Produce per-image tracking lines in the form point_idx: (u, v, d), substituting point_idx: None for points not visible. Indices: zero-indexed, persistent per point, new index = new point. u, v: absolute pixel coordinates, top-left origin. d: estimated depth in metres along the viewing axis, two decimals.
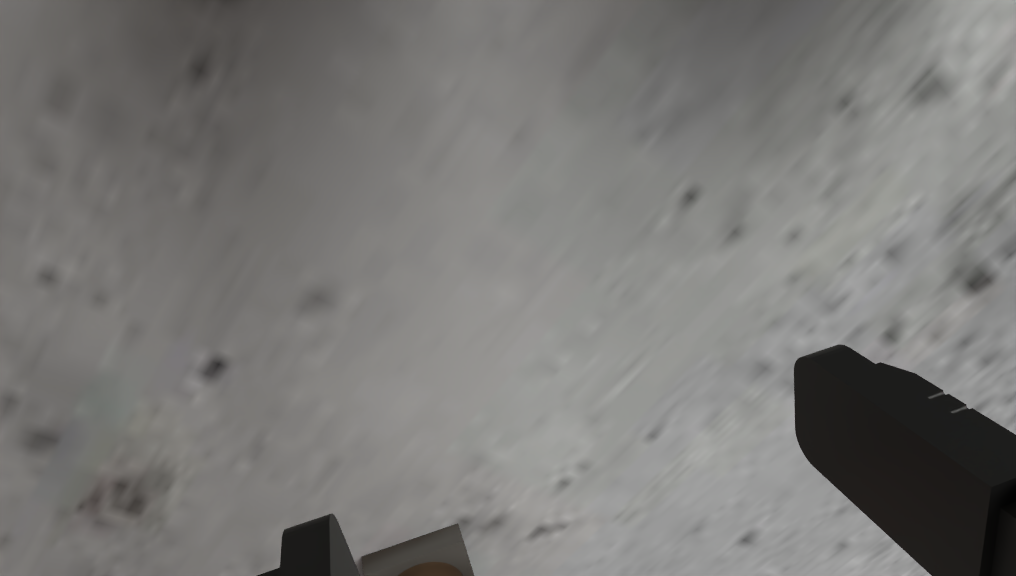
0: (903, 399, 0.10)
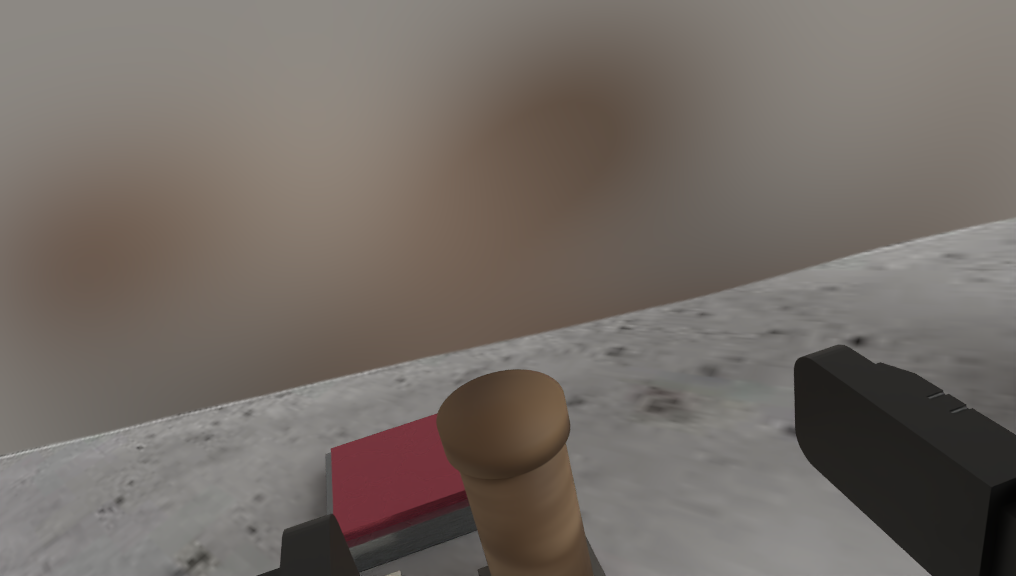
0: (903, 399, 0.10)
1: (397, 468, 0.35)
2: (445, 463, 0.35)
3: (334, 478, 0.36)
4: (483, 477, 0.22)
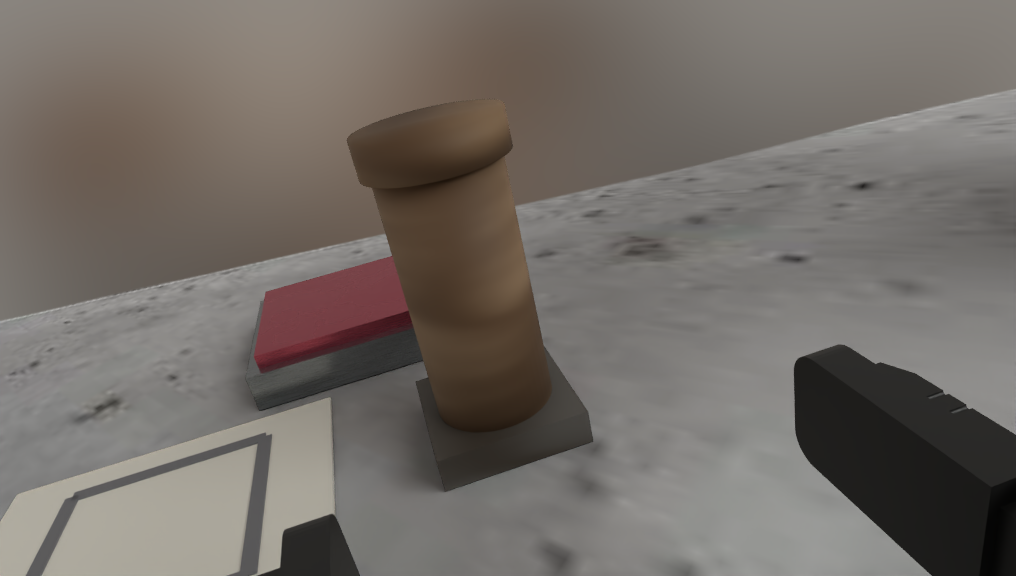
0: (903, 399, 0.10)
1: (335, 300, 0.31)
2: (390, 292, 0.30)
3: (263, 313, 0.31)
4: (398, 185, 0.18)
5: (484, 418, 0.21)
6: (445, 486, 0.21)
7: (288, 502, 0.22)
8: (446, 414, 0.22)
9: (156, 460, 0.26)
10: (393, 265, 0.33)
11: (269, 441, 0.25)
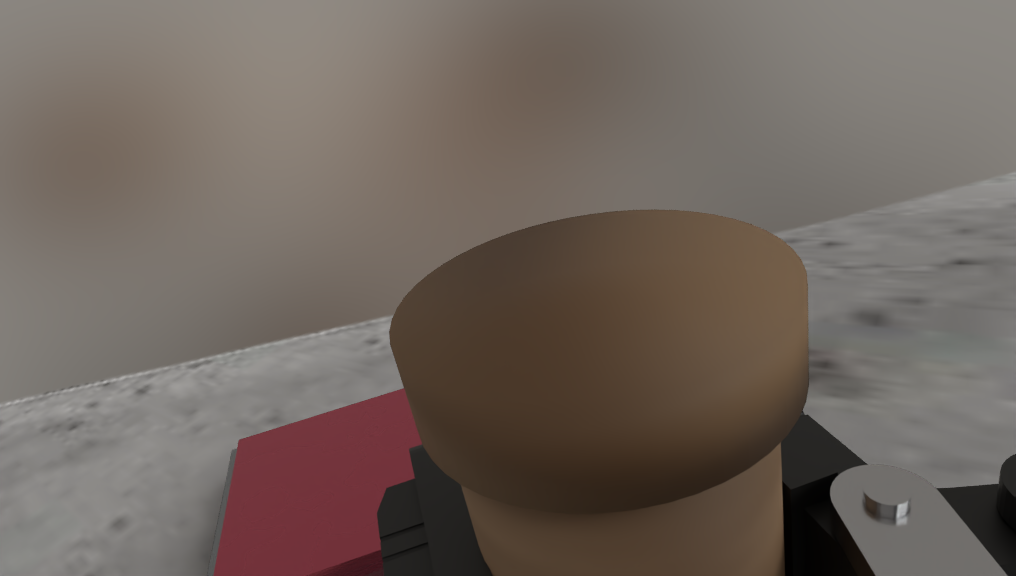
0: None
1: (346, 475, 0.19)
2: None
3: (232, 492, 0.20)
4: (546, 507, 0.06)
5: None
6: None
7: None
8: None
9: None
10: None
11: None
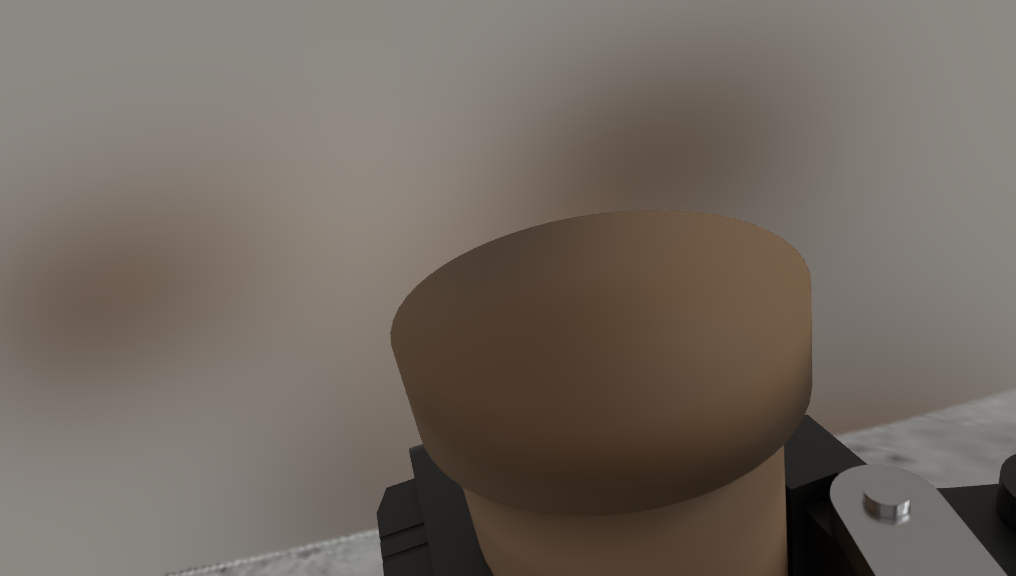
0: None
1: None
2: None
3: None
4: (548, 509, 0.06)
5: None
6: None
7: None
8: None
9: None
10: None
11: None
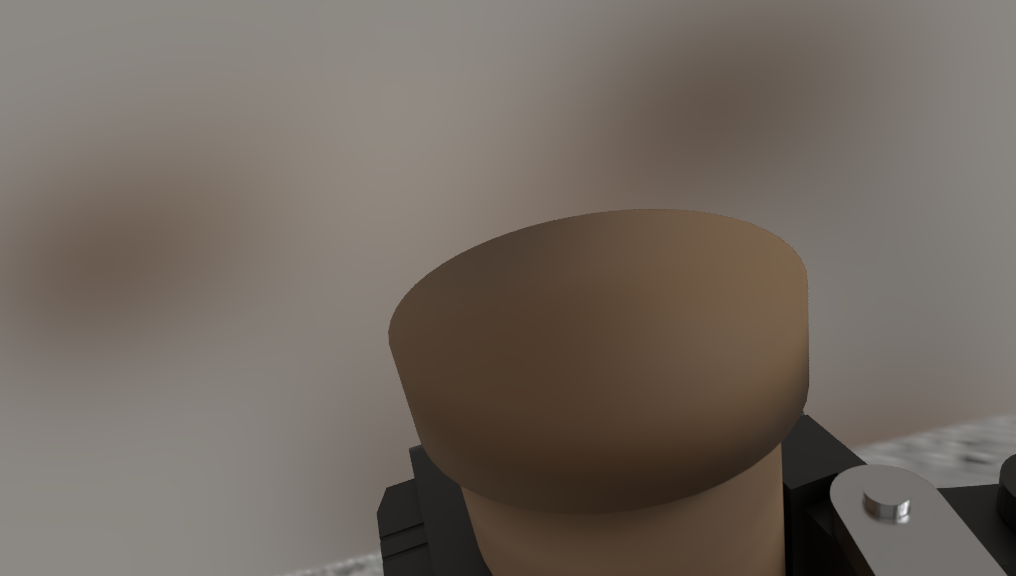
0: None
1: None
2: None
3: None
4: (545, 507, 0.06)
5: None
6: None
7: None
8: None
9: None
10: None
11: None
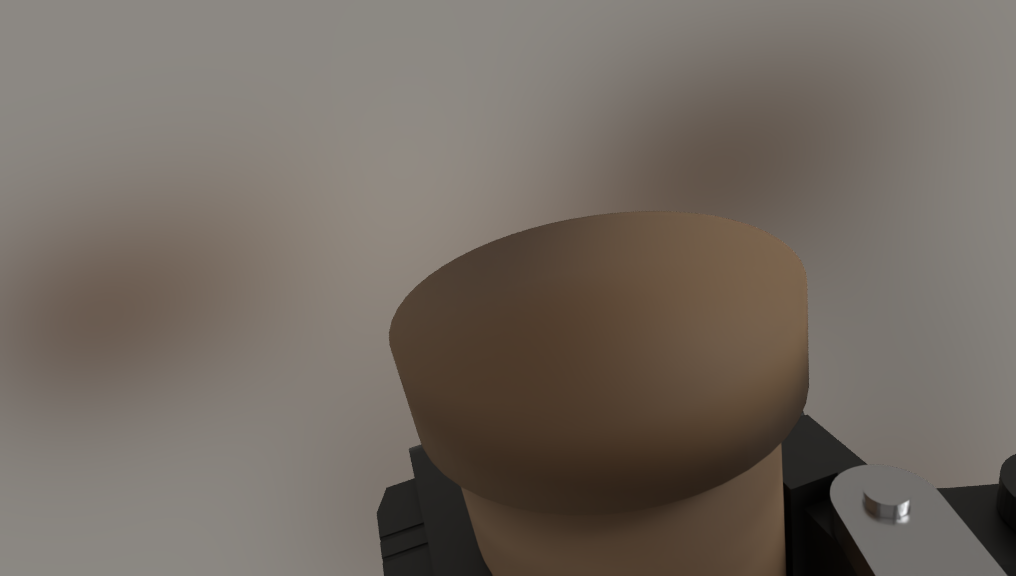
0: None
1: None
2: None
3: None
4: (544, 508, 0.06)
5: None
6: None
7: None
8: None
9: None
10: None
11: None
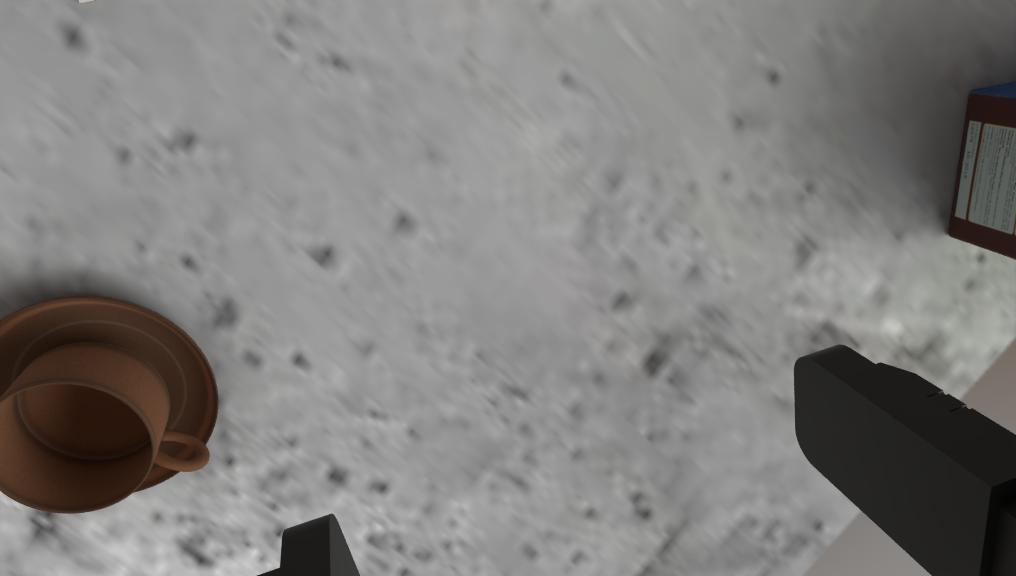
0: (903, 399, 0.10)
1: None
2: None
3: None
4: None
5: None
6: None
7: None
8: None
9: None
10: None
11: None
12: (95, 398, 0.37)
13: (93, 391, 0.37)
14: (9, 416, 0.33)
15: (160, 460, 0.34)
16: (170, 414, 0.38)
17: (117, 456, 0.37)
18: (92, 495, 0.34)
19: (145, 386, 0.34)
